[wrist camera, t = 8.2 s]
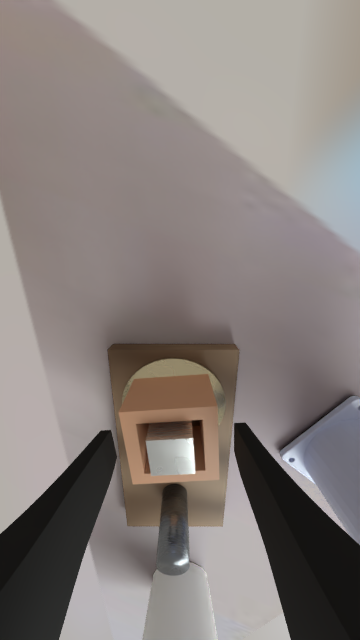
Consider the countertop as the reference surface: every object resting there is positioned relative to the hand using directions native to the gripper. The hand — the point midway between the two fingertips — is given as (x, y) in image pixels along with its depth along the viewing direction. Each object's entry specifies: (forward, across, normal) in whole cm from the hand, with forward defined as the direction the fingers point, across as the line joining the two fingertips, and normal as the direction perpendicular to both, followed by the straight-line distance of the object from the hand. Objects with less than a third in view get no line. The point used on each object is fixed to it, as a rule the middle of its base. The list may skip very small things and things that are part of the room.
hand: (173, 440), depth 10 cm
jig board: (+4, 0, +4) cm, 6 cm away
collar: (+3, 0, 0) cm, 3 cm away
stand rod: (+4, +1, +9) cm, 10 cm away
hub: (+4, 0, 0) cm, 4 cm away
